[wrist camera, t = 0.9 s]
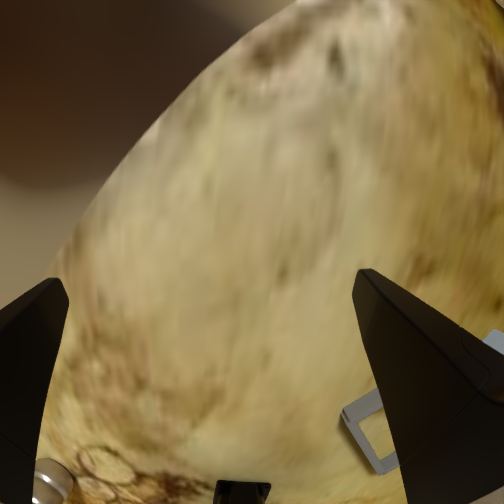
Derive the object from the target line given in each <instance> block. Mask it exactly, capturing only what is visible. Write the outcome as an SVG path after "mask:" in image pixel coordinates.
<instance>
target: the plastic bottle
mask: <svg viewBox="0 0 504 504" xmlns="http://www.w3.org/2000/svg"><path fill="white" fill-rule="evenodd" d="M73 484H74V483H73V479H72V476H71V475H70V473H69V472H68V471H67V470H66V469H65V468H64V467H62V466H61V465H60V464H58V463H57V462H55V461H53V460H51V459H48V458H39V459H37V460H36V464H35V474H34V486H33V504H62V503H63V502H64V501H65V500H66V499H67V498H68V496H69V495H70V494H71V492H72V489H73Z"/></svg>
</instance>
